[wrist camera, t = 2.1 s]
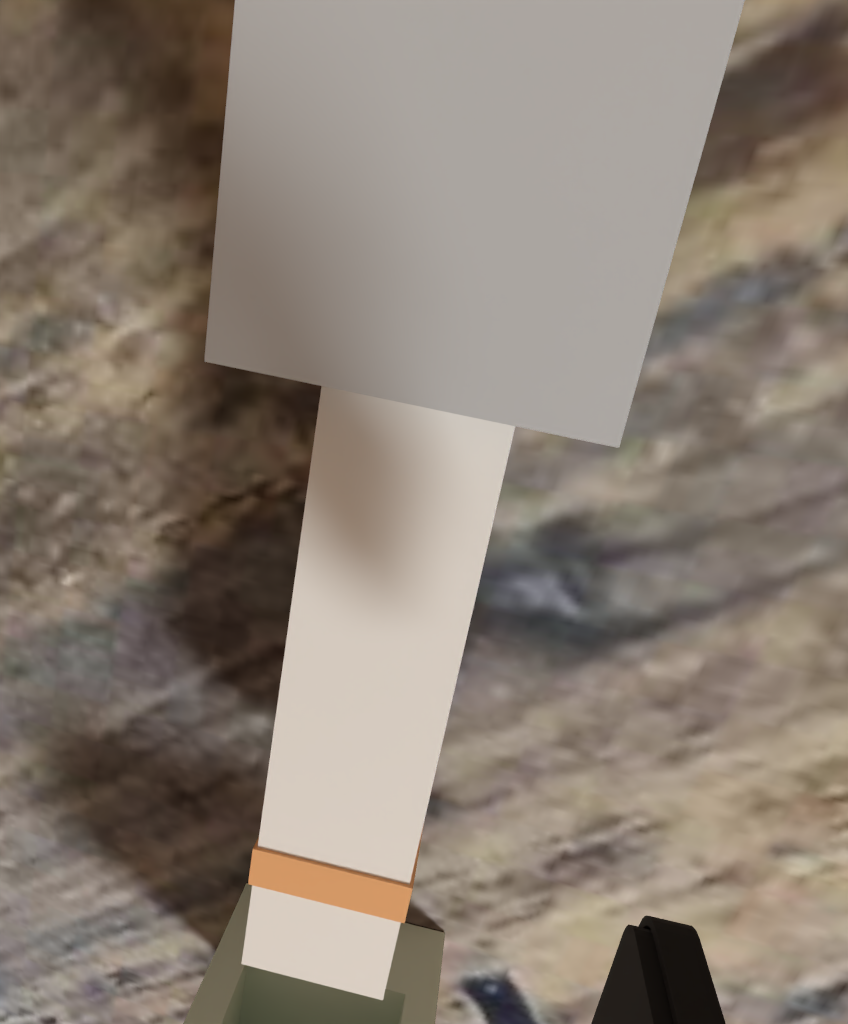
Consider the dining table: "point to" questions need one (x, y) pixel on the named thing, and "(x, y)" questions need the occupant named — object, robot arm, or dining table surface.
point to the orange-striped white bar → (368, 680)
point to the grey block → (460, 197)
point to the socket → (317, 985)
